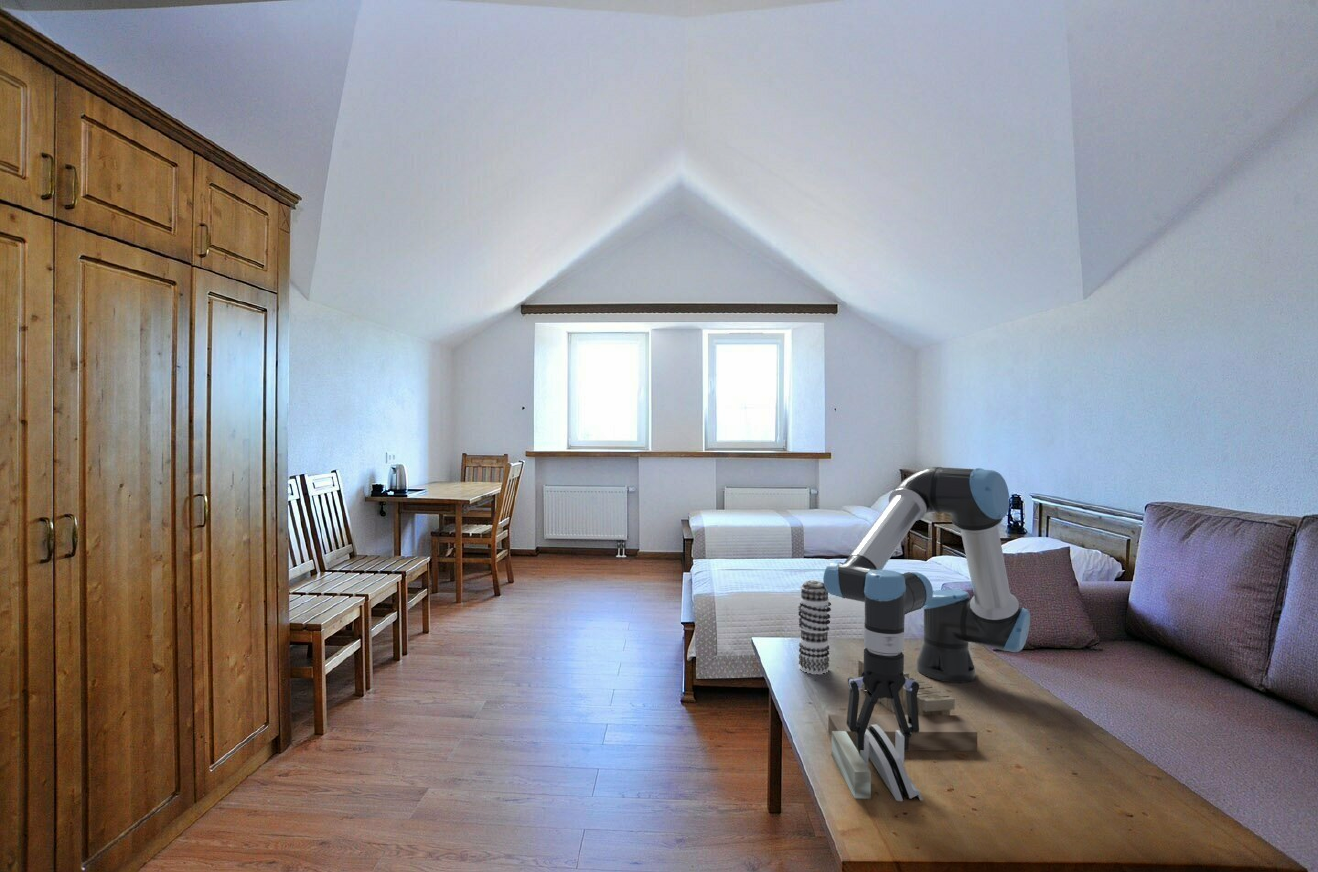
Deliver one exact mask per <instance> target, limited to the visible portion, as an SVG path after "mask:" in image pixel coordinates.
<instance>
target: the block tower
mask: <svg viewBox="0 0 1318 872" xmlns="http://www.w3.org/2000/svg"><path fill="white" fill-rule="evenodd" d="M857 662H858V663H857V664H858V665H857V666H858V676H857V678H859V677H861V675H862V673H863V671H864V659H858V661H857ZM903 674H904V677H905V678H907V679H910V673H909V672H908V671H906V670H904V671H903ZM913 679H914V680H915V681H916V682H917V683H918V684H919V690H918V693H917V704H918V715H951V710H955V702H956V701H955V698H953V697H952V696H950V695H949V694H947V693H946V692H942V691H941V690H938V688H936V687H933V686H932V685H931V684H930V683H929V682H928V683H927V682H925V681H924V680H923V679H921V678H919V677H917V678H916V677H915V678H913ZM861 688H862V689H863V690H867V687H866V686H865V684H862V686H861ZM862 689H861V690H862ZM863 690H862V691H863ZM898 694H899V697H900V700H901V705H902V708H903V712H904V715H908V711H907V696H906V688H905V684H904V686H903V687H902V688H901V690H900V691H899V692H898ZM878 701H879V702H878ZM878 701H877V702H878V703H880V702H881V703H882V704H883V706H884V707H885V708H887V709H888V708H889V709H890V710H889V709H888V710H889V711H890V712H892V711H893V713H894V714H895V712H894V709H893V706H892V703H891V700H890V699H888V698H881V699H879V698H878ZM881 703H880V704H881Z"/></svg>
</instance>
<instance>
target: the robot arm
mask: <svg viewBox="0 0 1318 872" xmlns="http://www.w3.org/2000/svg"><path fill="white" fill-rule="evenodd" d="M1009 498H1010V493H1009V488H1008V485H1007V482H1006V480H1005V478H1004V476H1003V475H1002V474H1000V473H999V472H998V471H996V470H992V469H990V470H989V469H985V468H980V467H979V468H961V467H960V468H959V467H941V466H932V467H927V468H923V469H921V470H919V471H917V472H914V473H913V474H911V475H910V476H908V477H906V478H905V479H903V480H902V481H901V482H900V483H898V484H897V485H896V486H895V488H894V489H893V490H892V492H890V494H889V496H888V503H887V505H886V506H885V507H884V509H883V511H882V512H881V513H880V514H879V516H878V517H877V518H876V520H875V521H874V523H873V524H872V525H871V526H870V527H869V528H868V529H869V530H867V532H866V533H865V535H863V537H862V538H861V540H860V541H859V543H858V544H857V545H856V546H855V548H854V549H853V551H851V554H849V556H848V557H847V558H846V560H845V561H844V562H841V561H838V562H836V561H833V562H831V563H830V562H829V564H827V566H826V568H825V570H824V573H823V581H822V582H823V583H824V585H825V589H826V591H827V592H828V594H830V595H831V596H832V595H833V596H835V597H839V598H842V599H846V600H850V601H851V600H852V601H857V602H862V603H864V625H863V626H864V629H863V630H864V631H863V646H864V649H863V660H864V671H863V673H862V675H861V677H859V678H858V677H856V678H853V677H848V678H847V684H848V687H849V692H848V693H849V694H848V703H847V704H848V705H847V713H846V715H847V722H846V723H847V726H848V727H849V729H850V730H851V731H852V732H856V746H857V748H858V749H859V750H858V751H860V752H859V754H860V755H861V757H862V758H863V760H864V762H865V763H866V765H867V767H868V768H869V760H870V758H869V736H868V734H867V733H866V729H867V726H868V723H869V720H870V717H871V715H873V712H874V708H875V706H876V704H877V703H878V698H879V699H881V698H888V699H890V700H891V703H892V706H893V709H894V712H895V713H894V712H893V713H894V715H896V719H897V722H898V725H899V728H900V730H896V732H895V749H896V751H897V752H898V754H899V756H900V758H901V760H902V762H903V764H904V765H905V752H906V751H907V752H908V751H909V750H908V749H909V738H910V737H911V735H912V734H911V733H913V732H915V733H917V732H919V719H918V704H917V693H918V690H919V684H918V683H917V682H916V681H915V680H914V679H915V678H913V677H909V679H907V678H905V677H904V674H903V671H905V668H904V667H905V664H904V662H905V655H904V650H905V615H907V614H909V613H912V612H915V611H918V610H921V609H923V643H922V646H921V648H920V652H919V654H918V657H917V660H916V670H917V671H918V672H919V673H920V674H922V675H924V676H926V677H928V678H931V679H933V680H937V681H943V682H949V683H967V682H972V681H973V680H974V679H975V678H976V668H975V664H974V661H973V658H972V655H971V652H970V649H969V643H972V644H976V645H981V646H984V647H989V648H993V649H996V650H1001V651H1003V652H1005V651H1007V652H1013V653H1019V652H1020V651H1022V650H1023V648H1024V647H1025V645H1026V642H1027V639H1028V635H1029V631H1030V625H1031V613H1030V611H1029V610H1028V609H1026V608H1024V607H1020V603H1019V601H1018V598H1017V597H1016V596H1015V595H1014V594H1012V593H1011V591H1010V586H1009V579H1008V573H1007V568H1006V563H1005V558H1004V552H1003V546H1002V541H1001V536H1000V530H999V525H1000V524H1001V523H1002V522H1003V520H1004V518H1006V516H1007V515H1008V512H1009V509H1010V499H1009ZM928 513H938V514H939V513H940V514H946V515H947V514H949V515H950V519H951V522H952V525H953V526H954V527H955V528H957V529H958V530H960V533H961V538H962V544H963V548H964V553H965V554H964V555H965V558H966V562H967V567H968V573H969V576H970V581H971V586H972V590H973V596H972V597H971V596H970V594H969V592H968V591H965V590H962V589H935V590H933V589H934V588H933V586H932V583H931V581H930V580H929V578H928V577H927V576H925V575H924V574H923V573H920V572H916V571H906V572H904V573H901V572H900V571H895V570H890V569H884V567H885V566H886V565H887V563H888V562H889V560H890V559H891V557H892V556H893V555H894V553H895V551H896V550H897V548H898V547H899V546H900V545H901V543H902V542H903V540H904V539H905V537H906V536H907V534H908V533H909V531H910V530H911V529H912V527H913V525H914V524H915V523H916V521H919V520H922V519H923V518H924V517H925V516H926V514H928ZM970 597H971V598H970ZM862 684H865V686H866V687H867V691H865V697H864V700H863V703H862V706H861V709H860V711H859V704H860V703H859V702H860V691H861V690H862V689H861V686H862ZM904 684H905V688H906V696H907V711H908V724H907V721H906V718H905V715H904V712H903V708H902V705H901V700H900V697H899V694H898V692H899V691H900V690H901V688H902V687H903V686H904ZM858 713H859V714H858ZM857 715H859V717H858V720H857Z"/></svg>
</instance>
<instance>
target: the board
mask: <svg viewBox="0 0 1318 872" xmlns="http://www.w3.org/2000/svg"><path fill="white" fill-rule="evenodd" d="M827 717H828V720H827V721H828V729H827V731H828V734H829V733H830V734H829V736H830V735H831V736H830V738H831V754H832V755H831V756H832V758H833V760H834V762H835V765H836V766H837V768H838V770H839V772H840V773H841V775H842V778H843V779H844V781H845V782H846V785H847V787H848V788H849V791H850V792H851V794H852V796H853V798H854V799H871V797H872V796H871V795H872V792H871V791H872V787H871V785H872V776H871V775H872V772H871V770H870V768H869V766H868V767H867V765H866V763H865V762H864V760H863V758H862V757H861V755H860V752H859V751H860V750H859V749H858V748H857V746H856V732H852V731H851V730H850V729H849V727H848V726H847V723H846V722H847V714H828V716H827ZM858 717H859V714H858V715H857V720H858ZM905 718H906V721H907V724H908V715H905ZM918 719H919V732H917V733H915V732H913V733H911V734H912V735H911V737H910V738H909V749H908V751H960V752H961V751H965V752H967V751H969V752H970V751H973V752H974V751H976V752H977V751H978V731H977V730H976V729H975V728H974V727H972V725H971V724H970V723H968V722H967V721H966V719H964V718H963V717H962V716H961V715H951V714H950V715H918ZM874 724H877V725H878V726H879V727H880V728H881V729H882V730H883V731H884V732H885V734H886V735H887V737H888V738H889V740H890V741H891V743H892V744H893V746H894V747H895V732H896V730H900V728H899V725H898V722H897V719H896V715H895V714H872V715H871V717H870V720H869V723H868V726H867V728H868V729H869V727H870V725H874Z"/></svg>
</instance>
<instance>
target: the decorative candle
mask: <svg viewBox="0 0 1318 872" xmlns="http://www.w3.org/2000/svg"><path fill="white" fill-rule="evenodd" d="M799 588H800V590H801V591H800V592H801V594H800V595H801V596H800V603H799V606H798V614H797V615H798V616H799V618H798V623H799V624H798V627H799V629H800V636H799V637H800V638H799V639H800V640H799V641H800V642H799V644H798V646H799V650H798V652H799V654H798V664H799V665H798V668H800V669H801V670H802V671H801V670H800V669H799V670H800V671H801V672H803V671H804V672H803V673H805V672H807V673H806V674H809V673H811V674H810V675H816V674H818V675H824V674H823V673H825V674H827V673H829V672H828V670H829V669H830V657H829V655H830V645H829V639H828V637H829V636H828V633H829V631H830V629H831V628H830V627H829V626H828V625H830V623H831V621H830V618H831V615H830V614H829V613H830V612H831V611H832V608H831V605H832V603H831V602H830V601H829V600H830V599H829V593H828V592H827V591H826V589H825V585H824V581H821V580H820V581H819V580H806V581H805V582H803V584H802V585H800V587H799ZM829 671H830V670H829ZM826 672H827V673H826Z"/></svg>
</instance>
